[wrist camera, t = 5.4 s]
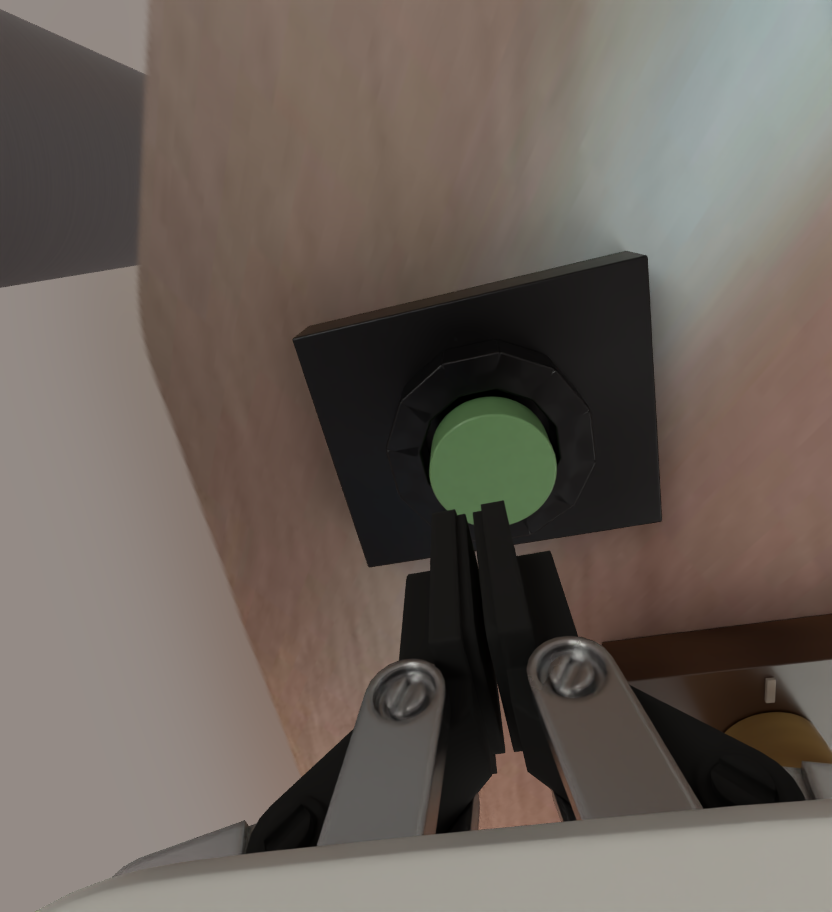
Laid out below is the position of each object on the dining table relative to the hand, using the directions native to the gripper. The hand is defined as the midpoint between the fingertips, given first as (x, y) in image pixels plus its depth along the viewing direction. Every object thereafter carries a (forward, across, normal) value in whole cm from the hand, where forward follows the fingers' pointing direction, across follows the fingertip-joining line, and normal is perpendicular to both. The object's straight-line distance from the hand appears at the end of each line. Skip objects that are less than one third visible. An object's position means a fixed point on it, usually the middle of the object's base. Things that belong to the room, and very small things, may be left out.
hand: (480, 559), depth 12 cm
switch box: (+10, -1, 0) cm, 10 cm away
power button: (+7, -1, 0) cm, 7 cm away
